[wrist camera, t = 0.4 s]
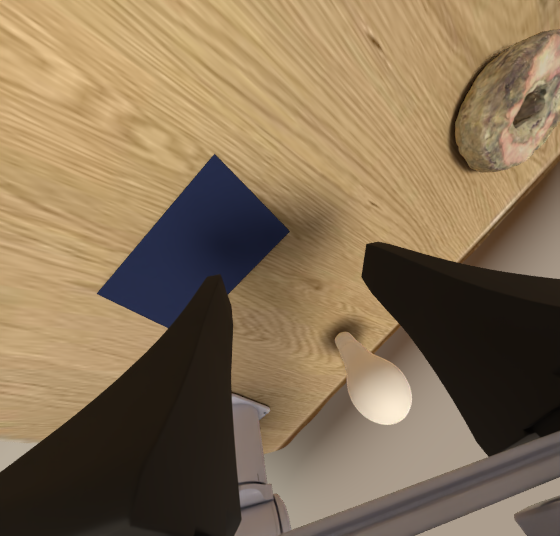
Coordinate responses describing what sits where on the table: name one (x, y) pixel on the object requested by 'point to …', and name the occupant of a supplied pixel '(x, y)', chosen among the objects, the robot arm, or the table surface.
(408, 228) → the table surface
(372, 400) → the lightbulb
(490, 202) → the table surface
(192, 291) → the cloth
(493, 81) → the stone ring
